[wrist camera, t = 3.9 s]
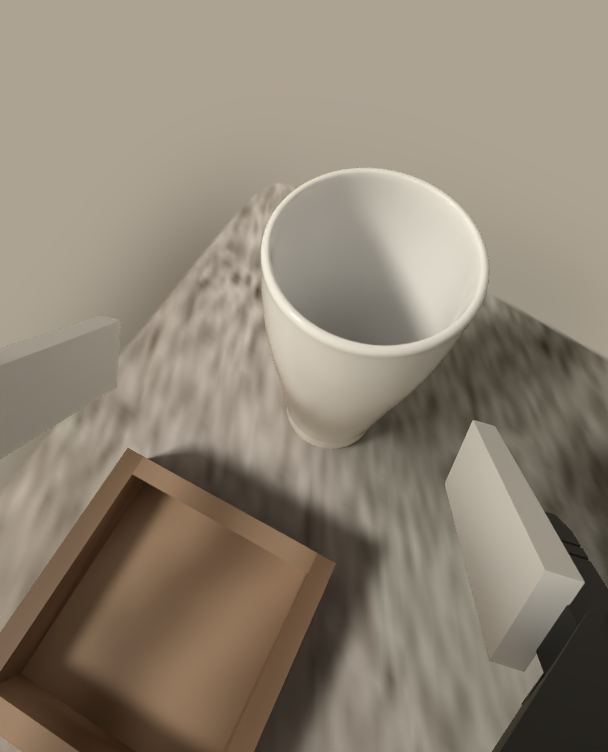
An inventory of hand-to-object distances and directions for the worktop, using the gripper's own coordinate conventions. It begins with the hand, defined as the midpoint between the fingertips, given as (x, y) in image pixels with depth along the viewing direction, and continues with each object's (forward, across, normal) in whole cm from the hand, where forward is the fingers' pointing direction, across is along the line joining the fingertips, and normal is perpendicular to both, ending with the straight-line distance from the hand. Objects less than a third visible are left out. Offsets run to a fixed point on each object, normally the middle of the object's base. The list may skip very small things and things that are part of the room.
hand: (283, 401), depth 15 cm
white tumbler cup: (+10, +2, -5) cm, 11 cm away
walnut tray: (+1, -3, -14) cm, 14 cm away
